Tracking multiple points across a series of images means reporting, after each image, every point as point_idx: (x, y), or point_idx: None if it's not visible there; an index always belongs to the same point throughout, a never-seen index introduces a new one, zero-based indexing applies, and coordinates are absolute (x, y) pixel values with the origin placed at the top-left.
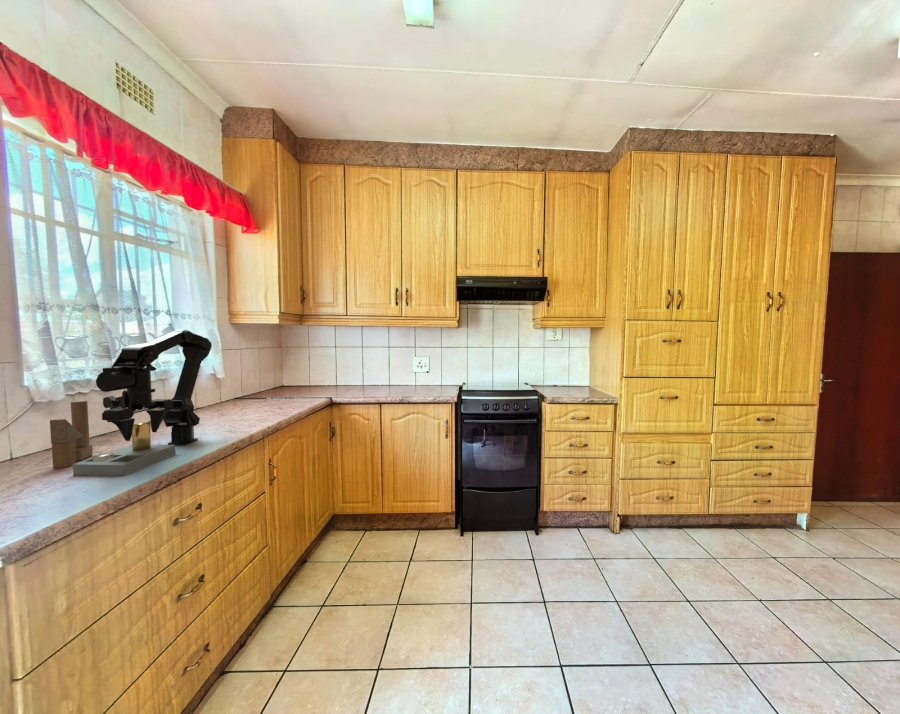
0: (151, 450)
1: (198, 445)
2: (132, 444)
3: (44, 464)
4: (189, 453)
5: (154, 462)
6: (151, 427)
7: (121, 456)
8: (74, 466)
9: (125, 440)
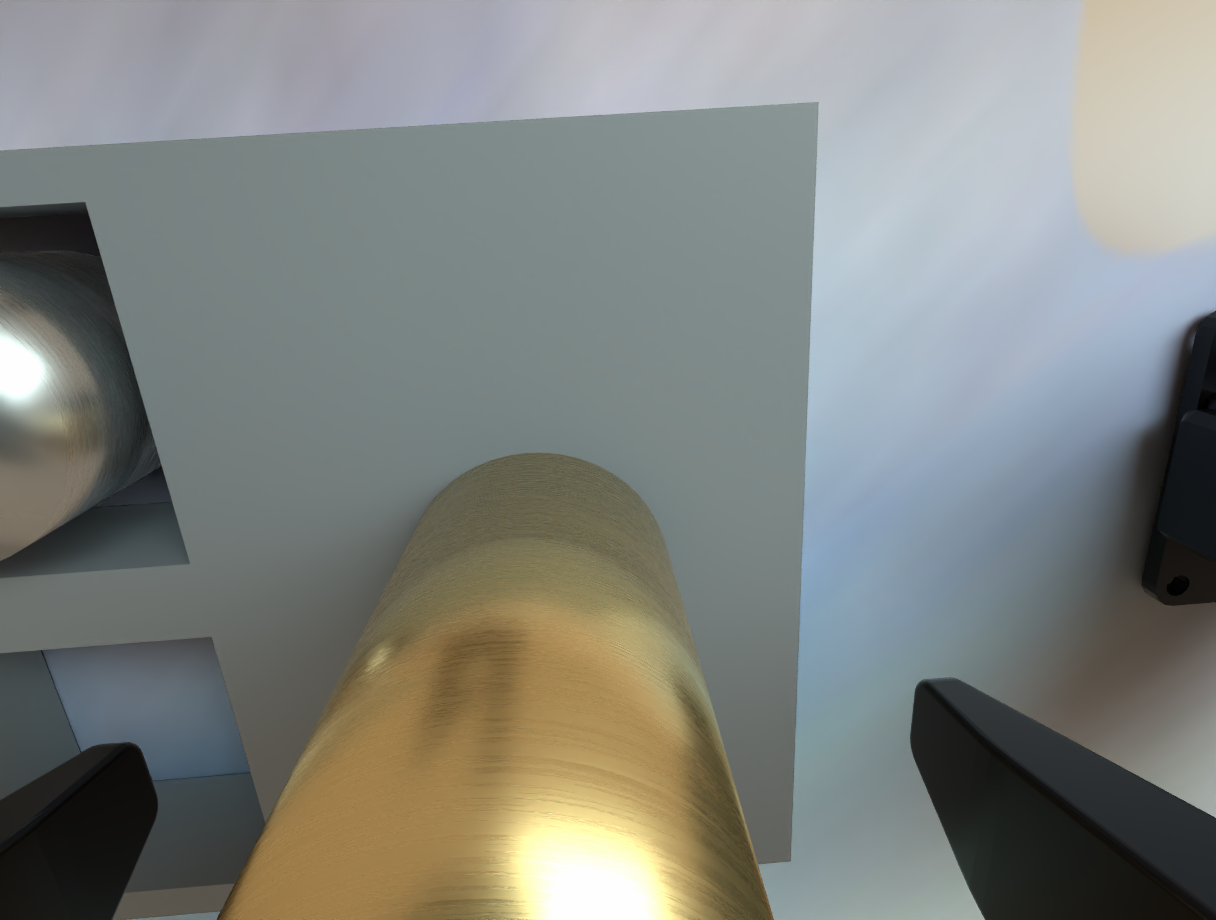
0: None
1: (1106, 747)
2: (385, 588)
3: None
4: (781, 870)
5: None
6: (994, 767)
7: (136, 615)
8: None
9: (94, 749)
